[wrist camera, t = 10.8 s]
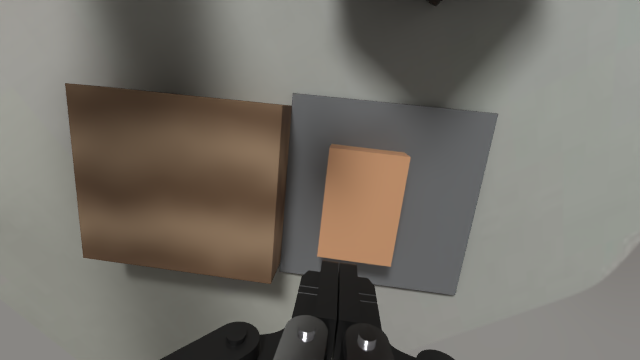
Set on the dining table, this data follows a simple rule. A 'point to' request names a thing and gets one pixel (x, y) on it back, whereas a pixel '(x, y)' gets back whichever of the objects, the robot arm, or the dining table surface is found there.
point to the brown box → (180, 180)
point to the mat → (420, 191)
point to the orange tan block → (362, 204)
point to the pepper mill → (434, 2)
